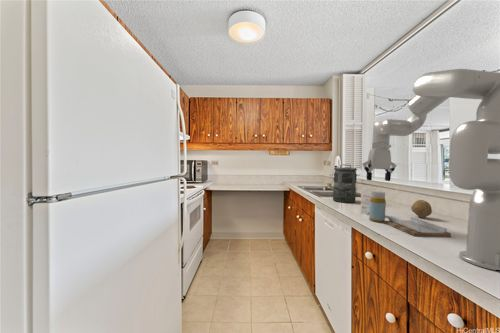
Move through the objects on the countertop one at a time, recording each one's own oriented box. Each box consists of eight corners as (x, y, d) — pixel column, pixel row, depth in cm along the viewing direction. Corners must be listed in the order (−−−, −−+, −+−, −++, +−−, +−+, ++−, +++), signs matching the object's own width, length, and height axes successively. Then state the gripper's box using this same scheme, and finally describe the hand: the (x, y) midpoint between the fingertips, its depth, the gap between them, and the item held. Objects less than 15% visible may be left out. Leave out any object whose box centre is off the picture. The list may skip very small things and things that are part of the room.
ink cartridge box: (378, 214, 128) (380, 189, 128) (375, 216, 125) (377, 189, 125) (363, 212, 135) (364, 187, 134) (359, 213, 132) (361, 188, 131)
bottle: (372, 218, 120) (374, 190, 119) (387, 221, 114) (388, 192, 114) (366, 220, 116) (367, 191, 115) (380, 223, 110) (382, 192, 110)
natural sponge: (407, 216, 128) (407, 198, 128) (417, 215, 131) (418, 198, 131) (424, 220, 120) (425, 201, 119) (434, 219, 123) (435, 201, 122)
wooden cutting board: (446, 233, 93) (447, 228, 93) (417, 232, 92) (418, 228, 92) (413, 221, 111) (413, 217, 110) (388, 220, 110) (388, 216, 110)
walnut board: (450, 236, 93) (450, 233, 93) (413, 235, 92) (413, 232, 92) (416, 224, 111) (416, 221, 111) (384, 223, 110) (385, 220, 110)
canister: (355, 201, 174) (357, 165, 173) (355, 204, 160) (357, 165, 159) (333, 198, 181) (335, 164, 180) (331, 201, 166) (333, 164, 166)
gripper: (391, 147, 118) (389, 180, 119) (359, 146, 117) (357, 179, 118) (402, 147, 111) (399, 181, 111) (368, 145, 110) (366, 180, 110)
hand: (378, 180), depth 115 cm, fingers open, 9 cm apart
